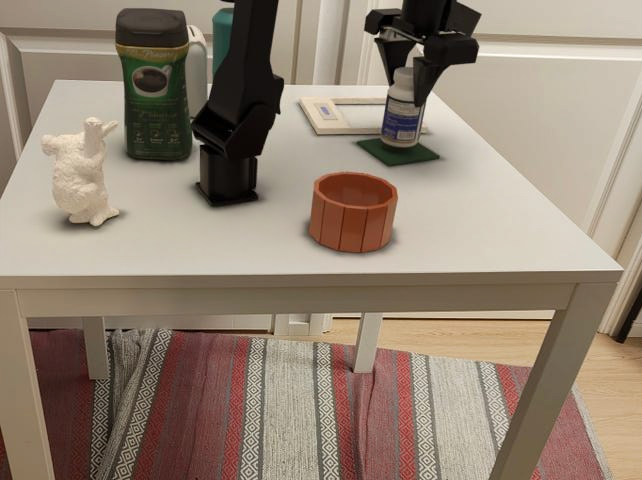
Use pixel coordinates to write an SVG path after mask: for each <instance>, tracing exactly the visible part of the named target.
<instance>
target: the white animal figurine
mask: <svg viewBox="0 0 642 480" xmlns="http://www.w3.org/2000/svg"><path fill="white" fill-rule="evenodd" d="M83 126H84V127H83V128H84V130H83V131H81V132H79V133H77V134H66V133H64V134H60V135H58V136H54V135H52V134H44V135H43V136H42V137H41V140H40V146H41V150H42V153H43V154H44V155H45V156H47V157H51V156H54V155H55V162H54V166H53V169H52V172H53V173H52V183H51V185H52V188H51V193H52V197H53V200H54V201H55V204H56V206H57V207H58V208H59V209H60V210H61V211H62V212H64V213H67V214H70V216H69V217H68V220H69V222H70V223H72V224H81V223H82V224H84V223H89V224H90V225H91V226H93V227H97V226H100V225H102V224H103V223H104V222H105V221H106V220H107V219H109V218H113V217H115V216H119V215H120V211H119V209H118V208H116V207H113V206H110V205H109V203H108V197H109V194H108V192H107V187H106V185H105V175H104V170H103V163H104V161H105V159H106V157H107V145H106V141H105V140H104V138H106V137H107V136H109V134H111V133H112V132H114V131H115V130H116V128H117V127H118V126H119V124H118V121H117V120H112V121H110V122H109V123H107V124H105V125H104V123H103V121H102V120H100V119H99V118H97V117H94V116H93V117H87V118H86V119H84V120H83Z"/></svg>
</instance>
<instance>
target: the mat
mask: <svg viewBox="0 0 642 480" xmlns="http://www.w3.org/2000/svg"><path fill="white" fill-rule="evenodd" d="M356 145H358V146H359V147H361V148H362V149H363V150H365V151H366V152H367V153H369V154H371V155H372V156H374V157H375V158H376V159H378V160H379V161H380V162H382V163H383V164H385V165H386V166H388V167H392V166H393V167H394V166H400V165H406V164H414V163H419V162H425V161H431V160H439V159H441V156H440V155H439V154H438V153H436V152H434V151H433V150H431V149H429V148H428V147H426V146H425V145H423V144H422V143H420V142H418V143H417V144H416V145H414V146H411V147H395V146H391V145H388V144H386V143H384V142H383V141H382V140H381V137H378V138H377V137H376V138H369V139H363V140H357V141H356Z"/></svg>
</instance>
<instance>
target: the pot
mask: <svg viewBox="0 0 642 480" xmlns="http://www.w3.org/2000/svg"><path fill="white" fill-rule="evenodd" d="M398 200H399V194H398V189H397V187H396V186H395V185H393V184H392V183H391V182H389V181H388V180H386V179H384V178H381V177H380V176H375V175H373V174H369V173H365V172H358V171H357V172H356V171H355V172H354V171H339V172H333V173H332V172H331V173H326V174H324V175H322V176H321V177H319V178H317V179H316V180H314V182H313V189H312V199H311V208H310V216H309V217H310V218H309V228H308V233H309V235H310V236H311V237H312V238H313V239H314V240H315V241H316V242H317V243H318V244H320V245H322V246H325V247H327V248H330V249H333V250H335V251H339V252H346V253H347V252H348V253H356V254H357V253H358V254H359V253H367V252H372V251H377V250H379V249H382V248H383V247H384V246H385V245H386V244H388V242H390V240H391V235H392V231H393V225H394V220H395V216H396V211H397V205H398Z"/></svg>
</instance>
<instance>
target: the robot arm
mask: <svg viewBox="0 0 642 480" xmlns="http://www.w3.org/2000/svg"><path fill="white" fill-rule="evenodd" d="M279 3H280V0H235V2H234V3H233V8H234V11H233V19H232V27H231V36H230V44H229V50H228V53H227V55H226V56H225V58H224V60H223V61H222V63H221V64H220V66H219V67H218V69H217V71H216V72H215V75H214V79H212V82H211V86H210V91H209V94H208V101H207V102H206V103H205V105H204V106H203V107H202V109H201V110H200V111H199V113H198V114H197V115H196V117H193V120H191V124H190V127H191V130H192V136H193V138H194V139H195V140H197V141H200V142H201V144H199V181H197V182H195V184H194V185H195V188H196V189H197V190H198V192H199V193H200V194H201V195H202V196H203V198H204V199H205V200H206V201H207V203H209V205H210V206H212V207H219V206H225V205H233V204H238V203H243V202H249V201H257V200H258V199H259V194H258V192H256V189H257V185H258V165H259V159H258V158H257V157H259V156H261V155H262V154H263V150H264V148H265V145H266V141H267V138H268V136H269V132H270V131H271V130H272V129H273V127H274V125H275V121H276V118H277V115H278V116H280V115H281V114H282V112H281V111H282V110H281V100H282V95H283V92H284V89H285V79H284V77H282V76H279V75H277V74H275V73H274V71H273V68H272V63H271V54H272V47H273V42H274V41H273V40H274V35H275V28H276V22H277V16H278V10H279V9H278V8H279ZM482 16H483V13H480V12H479V11H477V10H475V9H473V8H471V7H469V6H468V5H466V4H463V3H462V2H459V1H458V0H402V4H401V8H398V7H393V8H392V7H391V8H374V9H371V10H370V11H369V12H368V13H367V15H366V16H365V20H364V27H363V32H365V33H368V34H370V35H372V36H377V35H378V36H377V37H373V41H374V43H375V44H376V47H377V50H378V53H379V56H380V59H381V62H382V66H383V69H384V72H385V76H386V81H387V84H388V89H389V88H390V87H391V86H392V85H393V84H394V83H395V81H394V79H393V78H394V72H395V70H396V69H397V68H400V67H407V62H408V58H409V55H410V53H411V51H412V50H413V49H414V48H415V47H416V46H417V44H418V45H421V46H422V47H423V49H422V53H423V55H421V56H420V55H419V56H413V57H412V67H413V88H414V105H415V107H416V108H419V107H422V106H423V104H424V103H425V101H426V99H427V100H428V98H429V96H430V94H431V92H432V90H433V88H434V87H435V86H436V84H437V82H438V80H439V78H440V77H441V76H442V75H443V73H444V71H446V70H447V69H448V68H450V67H451V66H459V65H470V64H476V63H477V58H478V55H479V50H480V47H481V46H480V44H479V43H478V41H477V39H476V38H475V37H472V36H473V34H474V32H475V30H476V27H477V25H478V24H479V22H480V19H481V18H482ZM426 102H427V101H426Z"/></svg>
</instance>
